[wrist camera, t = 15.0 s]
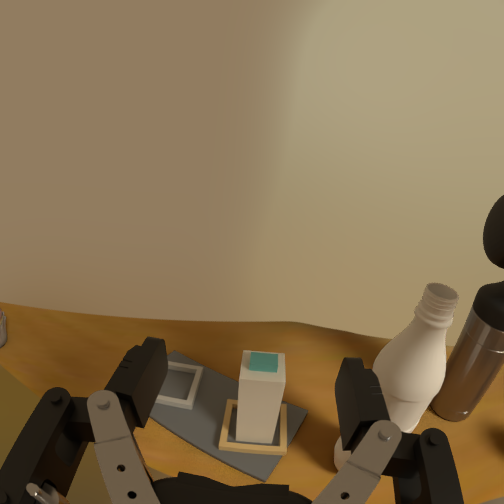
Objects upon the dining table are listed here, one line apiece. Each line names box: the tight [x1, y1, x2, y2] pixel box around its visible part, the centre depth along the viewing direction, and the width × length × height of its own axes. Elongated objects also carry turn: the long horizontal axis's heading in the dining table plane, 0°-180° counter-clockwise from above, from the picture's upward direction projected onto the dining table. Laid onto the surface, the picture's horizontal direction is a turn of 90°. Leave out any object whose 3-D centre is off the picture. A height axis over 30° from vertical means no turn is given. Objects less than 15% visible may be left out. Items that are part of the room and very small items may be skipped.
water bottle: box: [334, 283, 459, 471], centre depth 23 cm, size 7×7×25 cm
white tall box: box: [236, 350, 286, 444], centre depth 30 cm, size 4×4×13 cm
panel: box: [149, 350, 308, 482], centre depth 36 cm, size 13×25×2 cm, turn 61°
